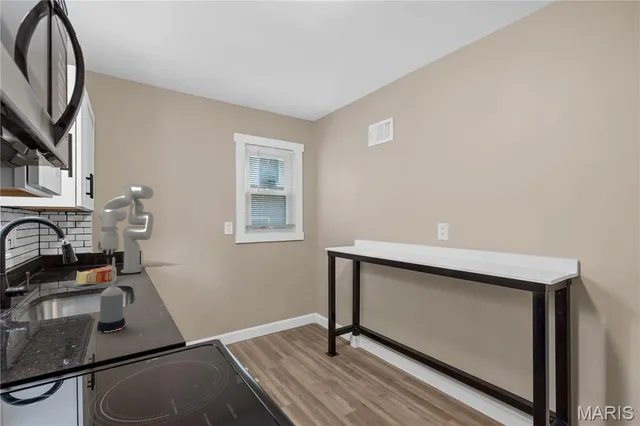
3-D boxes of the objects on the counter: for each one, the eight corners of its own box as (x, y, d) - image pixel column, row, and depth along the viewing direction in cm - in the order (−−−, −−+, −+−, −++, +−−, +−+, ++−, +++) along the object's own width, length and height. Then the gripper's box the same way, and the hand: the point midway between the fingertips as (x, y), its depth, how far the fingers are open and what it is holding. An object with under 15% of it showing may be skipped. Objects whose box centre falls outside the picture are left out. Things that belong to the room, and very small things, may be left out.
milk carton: (116, 281, 184) (81, 289, 164) (104, 280, 186) (68, 287, 167) (116, 265, 184) (81, 271, 164) (104, 264, 186) (68, 270, 167)
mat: (97, 280, 189) (97, 279, 189) (117, 283, 180) (117, 282, 180) (62, 285, 173) (62, 284, 173) (82, 289, 164) (82, 288, 164)
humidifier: (119, 332, 106) (121, 258, 107) (92, 333, 105) (94, 259, 105) (128, 324, 114) (130, 255, 115) (103, 325, 113) (105, 256, 113)
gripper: (117, 229, 194) (117, 259, 193) (91, 230, 180) (90, 262, 180) (125, 229, 190) (124, 260, 190) (99, 230, 177) (98, 263, 177)
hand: (108, 261), depth 185 cm, fingers closed
